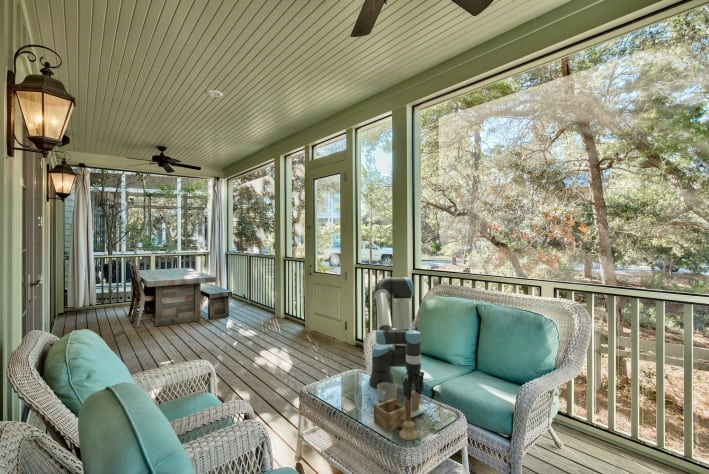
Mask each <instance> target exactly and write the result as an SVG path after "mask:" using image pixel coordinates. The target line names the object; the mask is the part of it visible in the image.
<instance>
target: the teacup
mask: <svg viewBox="0 0 709 474" xmlns="http://www.w3.org/2000/svg"><path fill="white" fill-rule="evenodd" d="M397 391H398V387H397V385H396V384H392V383H387V382H384V383H379V384H378V385H377V388H376V393H377V398H378V400H379V401H381V402H380V403H382V402H385V401H387V400H390V399H393V398H397Z"/></svg>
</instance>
